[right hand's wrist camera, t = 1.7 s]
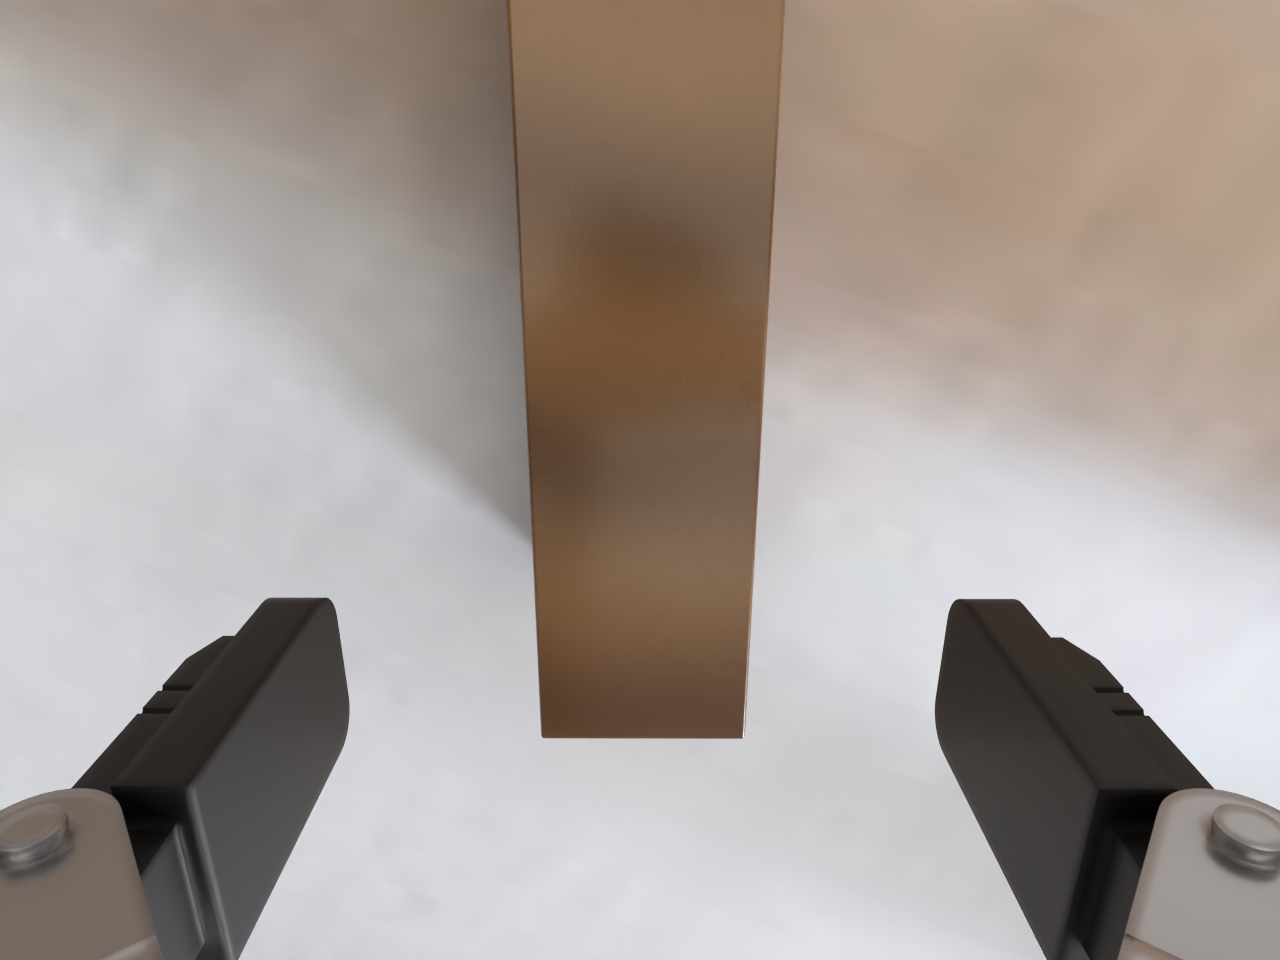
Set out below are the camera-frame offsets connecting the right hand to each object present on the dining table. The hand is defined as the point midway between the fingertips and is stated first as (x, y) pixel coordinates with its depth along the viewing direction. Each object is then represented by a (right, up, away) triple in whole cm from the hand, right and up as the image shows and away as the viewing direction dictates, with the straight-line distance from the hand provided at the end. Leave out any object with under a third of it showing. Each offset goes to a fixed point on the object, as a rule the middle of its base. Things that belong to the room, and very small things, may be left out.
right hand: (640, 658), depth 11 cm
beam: (0, +25, +4) cm, 26 cm away
